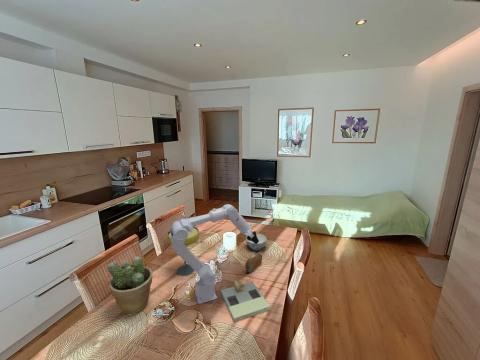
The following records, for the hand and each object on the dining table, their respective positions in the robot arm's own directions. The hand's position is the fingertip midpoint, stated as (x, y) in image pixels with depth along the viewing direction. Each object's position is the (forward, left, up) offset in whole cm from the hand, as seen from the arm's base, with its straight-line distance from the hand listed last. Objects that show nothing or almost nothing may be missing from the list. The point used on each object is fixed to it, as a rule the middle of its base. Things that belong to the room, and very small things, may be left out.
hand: (254, 239), depth 117 cm
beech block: (-11, -5, -24) cm, 27 cm away
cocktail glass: (-34, +25, -26) cm, 49 cm away
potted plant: (-61, +6, -26) cm, 66 cm away
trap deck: (-11, -12, -26) cm, 30 cm away
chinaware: (+17, +32, -26) cm, 45 cm away
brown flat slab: (+5, +11, -26) cm, 29 cm away
